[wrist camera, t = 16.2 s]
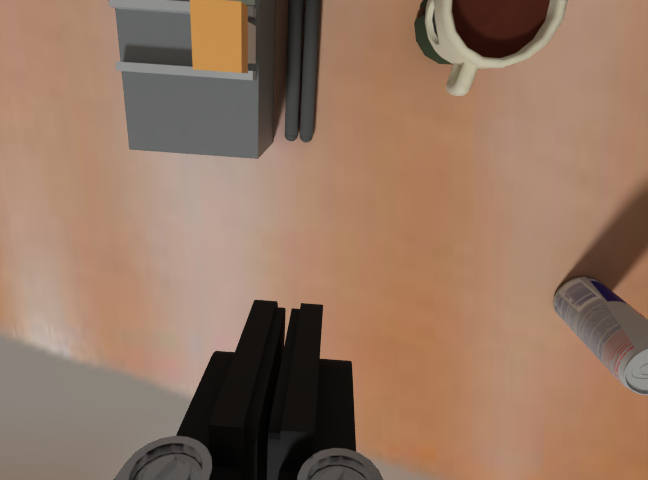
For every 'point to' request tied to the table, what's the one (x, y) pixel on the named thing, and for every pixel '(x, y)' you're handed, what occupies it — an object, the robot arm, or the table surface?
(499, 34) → the character mug
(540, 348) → the table surface
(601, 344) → the energy drink
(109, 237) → the table surface
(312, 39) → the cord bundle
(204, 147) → the grey box
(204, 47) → the switch
